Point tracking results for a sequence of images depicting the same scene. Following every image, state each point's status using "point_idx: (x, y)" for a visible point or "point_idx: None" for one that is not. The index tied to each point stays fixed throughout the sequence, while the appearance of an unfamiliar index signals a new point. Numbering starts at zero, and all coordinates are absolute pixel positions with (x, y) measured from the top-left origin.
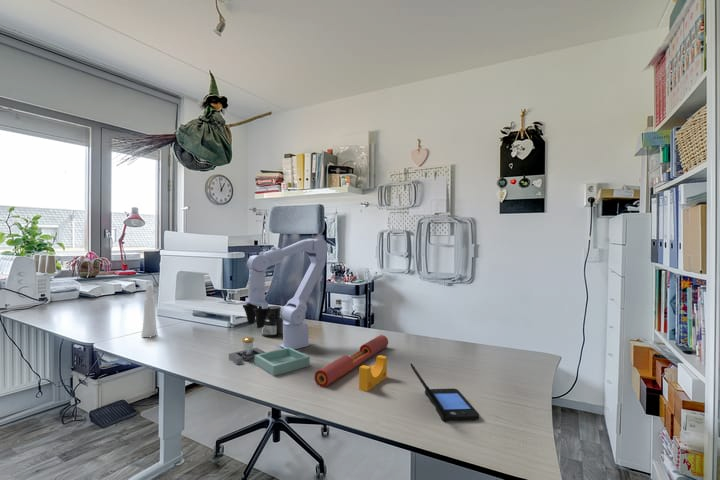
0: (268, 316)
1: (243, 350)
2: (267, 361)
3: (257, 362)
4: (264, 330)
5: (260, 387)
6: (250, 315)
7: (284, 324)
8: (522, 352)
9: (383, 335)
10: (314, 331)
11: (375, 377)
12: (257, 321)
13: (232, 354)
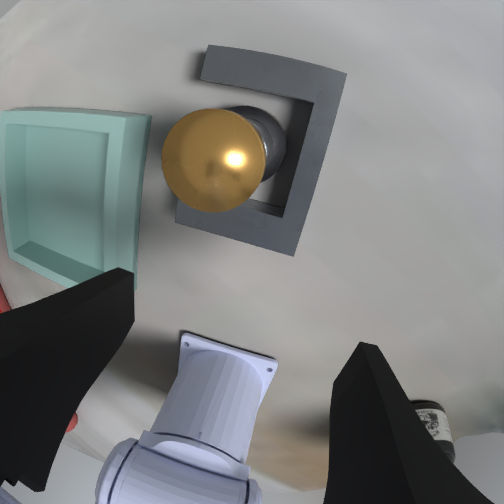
0: None
1: (247, 119)
2: (33, 118)
3: (114, 113)
4: (427, 421)
5: (11, 42)
6: (363, 440)
7: (196, 443)
8: None
9: None
10: (290, 473)
11: None
12: (56, 293)
13: (310, 75)
